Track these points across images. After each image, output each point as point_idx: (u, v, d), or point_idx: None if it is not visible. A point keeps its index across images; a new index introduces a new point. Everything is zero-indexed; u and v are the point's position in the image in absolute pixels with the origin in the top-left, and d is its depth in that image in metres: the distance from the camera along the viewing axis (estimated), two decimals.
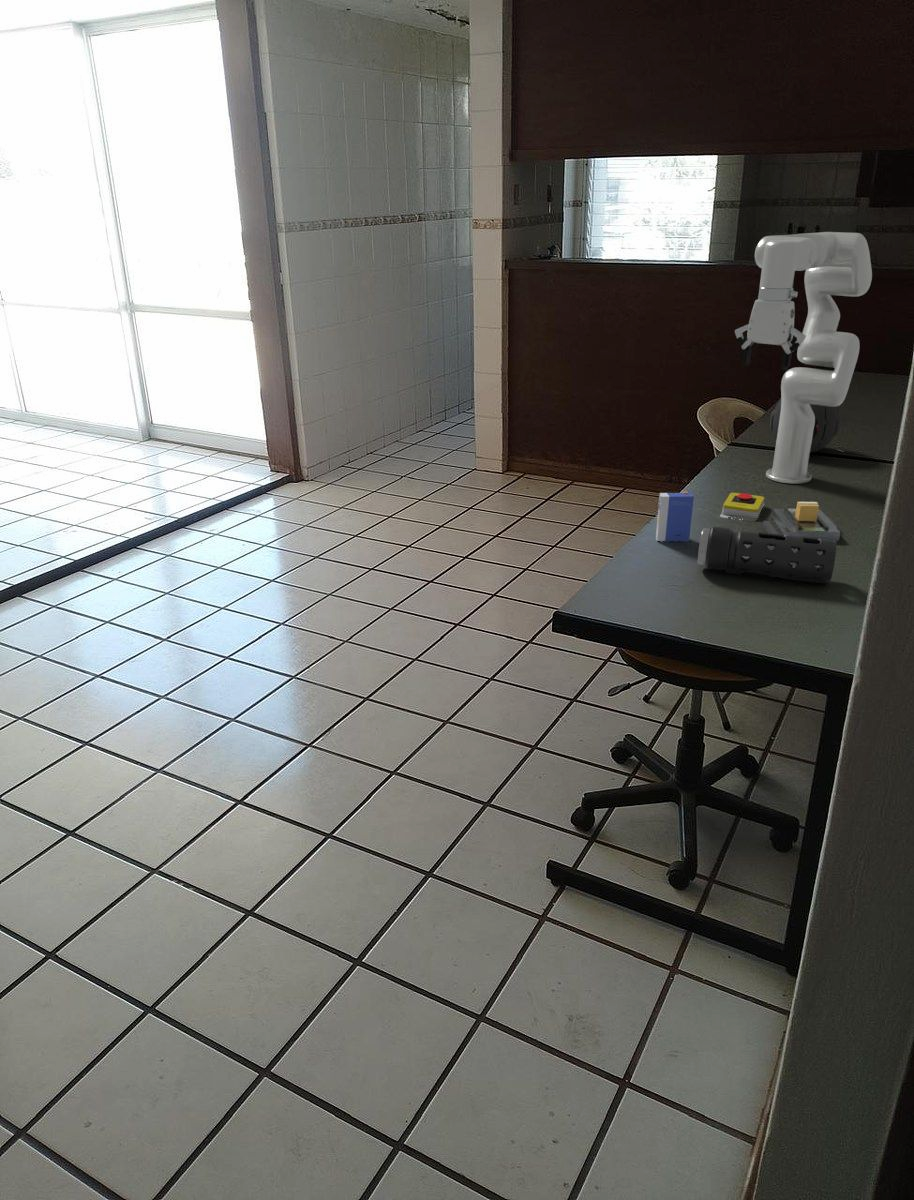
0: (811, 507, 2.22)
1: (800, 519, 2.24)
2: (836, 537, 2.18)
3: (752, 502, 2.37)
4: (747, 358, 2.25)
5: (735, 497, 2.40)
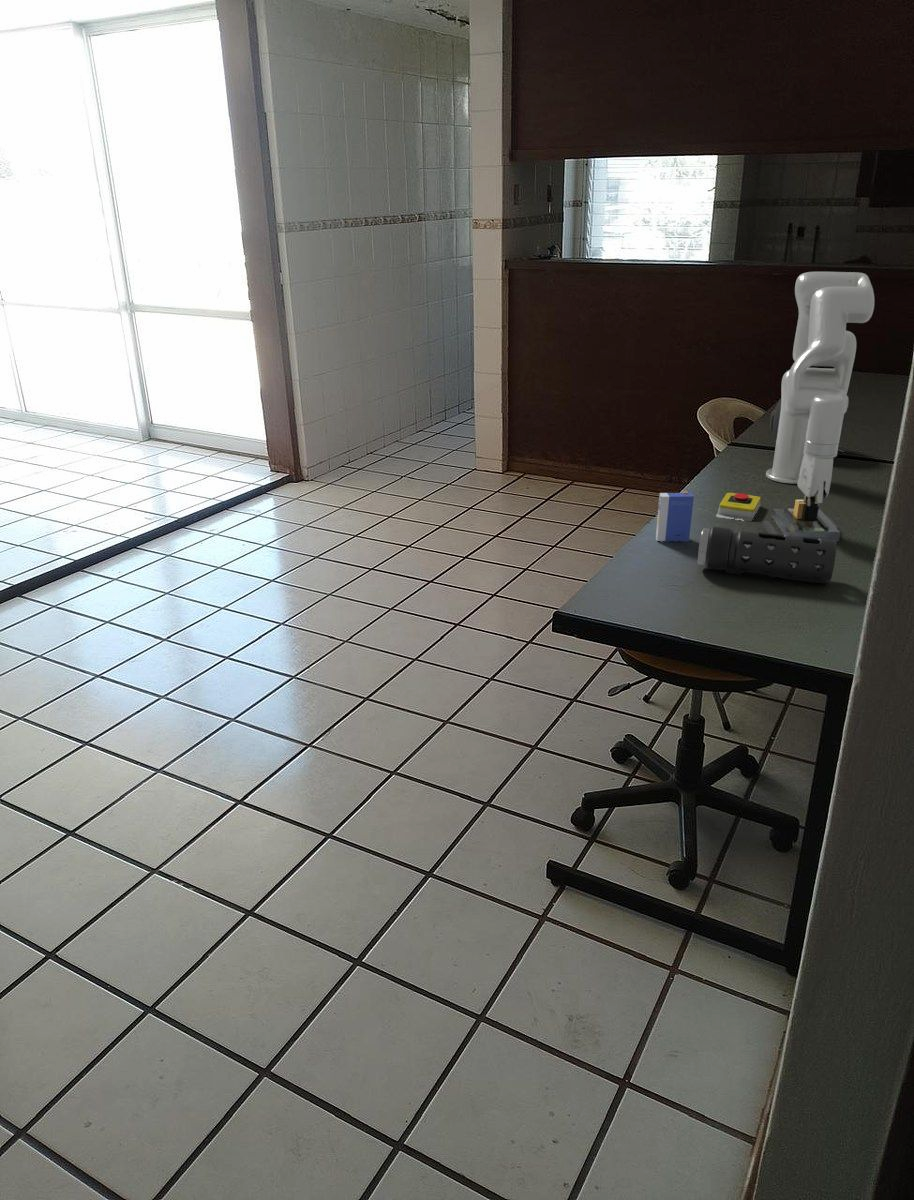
0: None
1: (798, 517, 2.25)
2: (836, 537, 2.18)
3: (748, 502, 2.37)
4: None
5: (731, 497, 2.41)
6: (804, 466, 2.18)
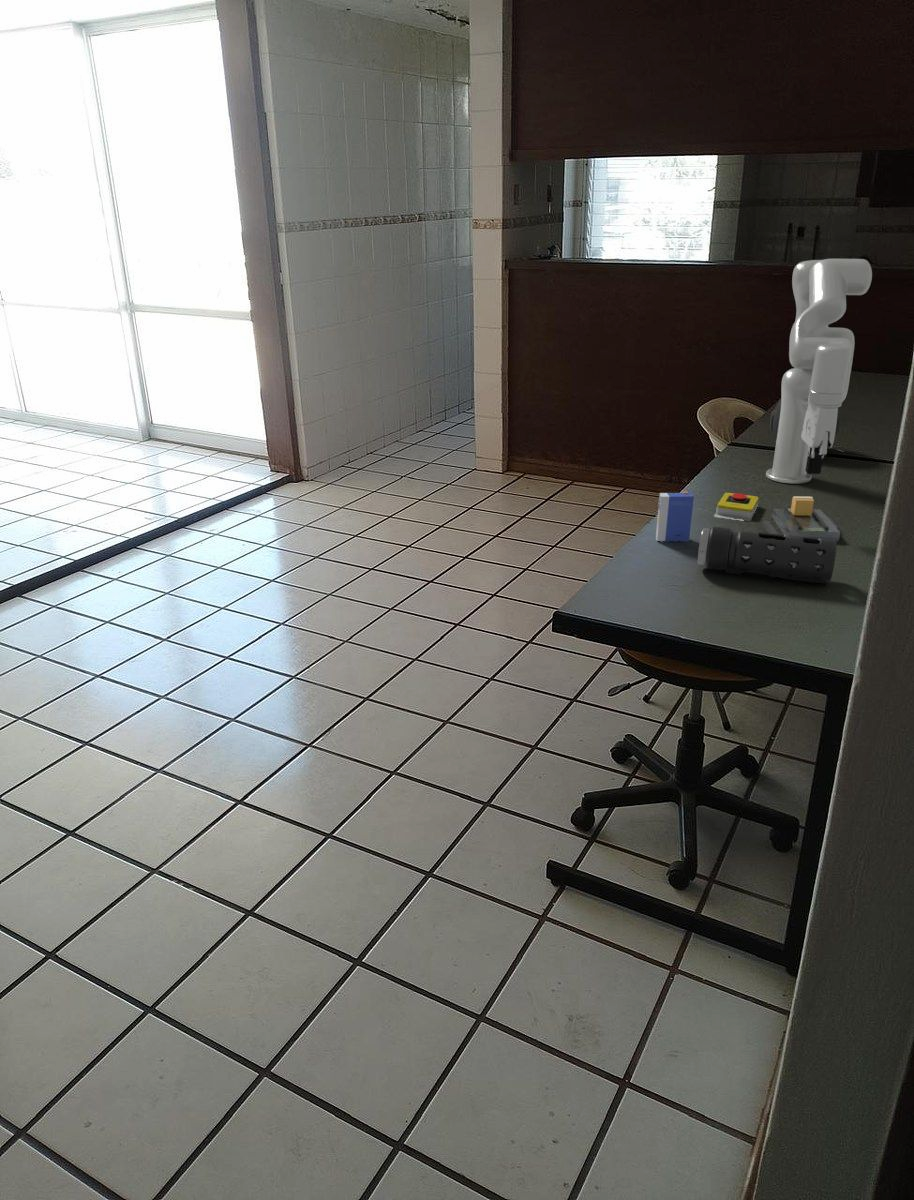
0: (806, 502, 2.26)
1: (795, 513, 2.27)
2: (836, 537, 2.18)
3: (746, 502, 2.37)
4: None
5: (729, 497, 2.41)
6: (808, 417, 2.15)
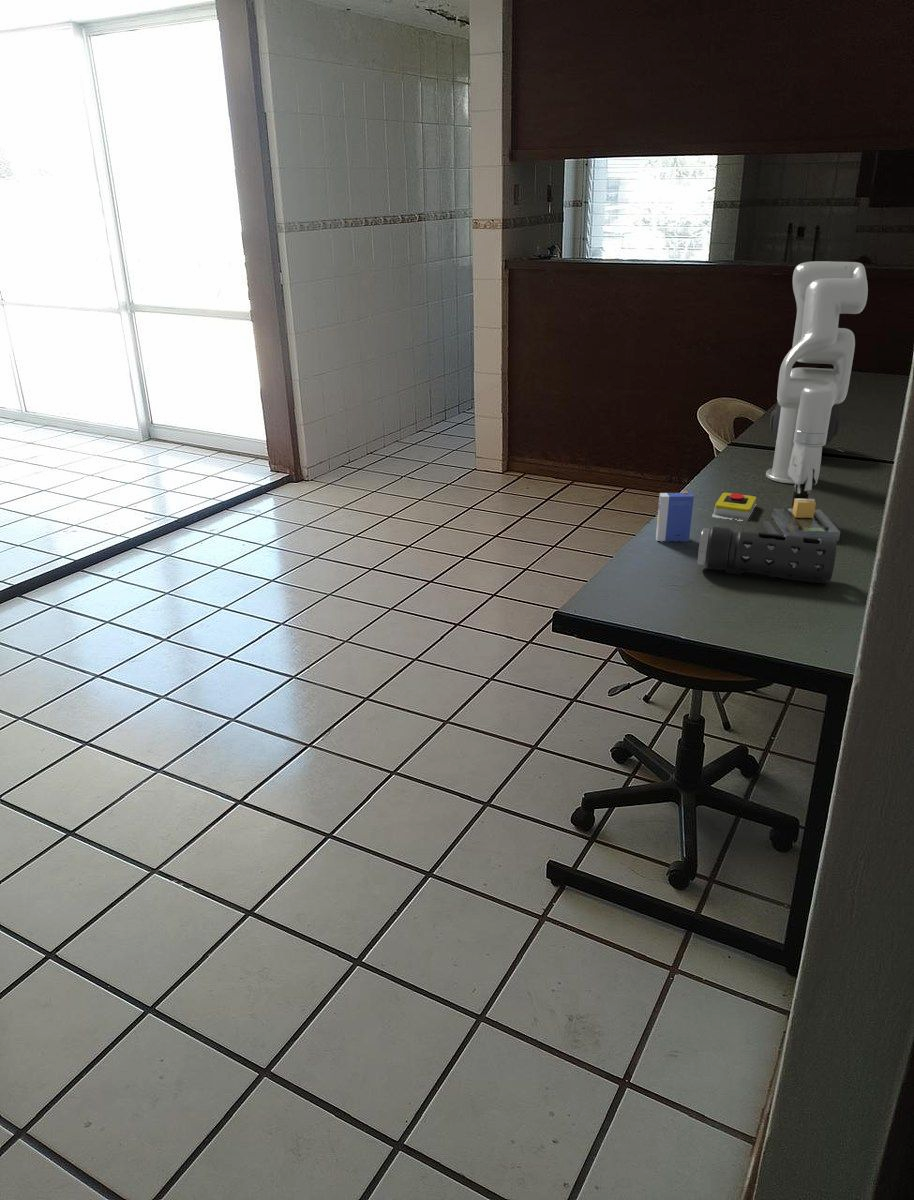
0: (808, 504, 2.24)
1: (797, 516, 2.26)
2: (836, 537, 2.18)
3: (744, 502, 2.37)
4: None
5: (727, 497, 2.41)
6: (794, 455, 2.25)
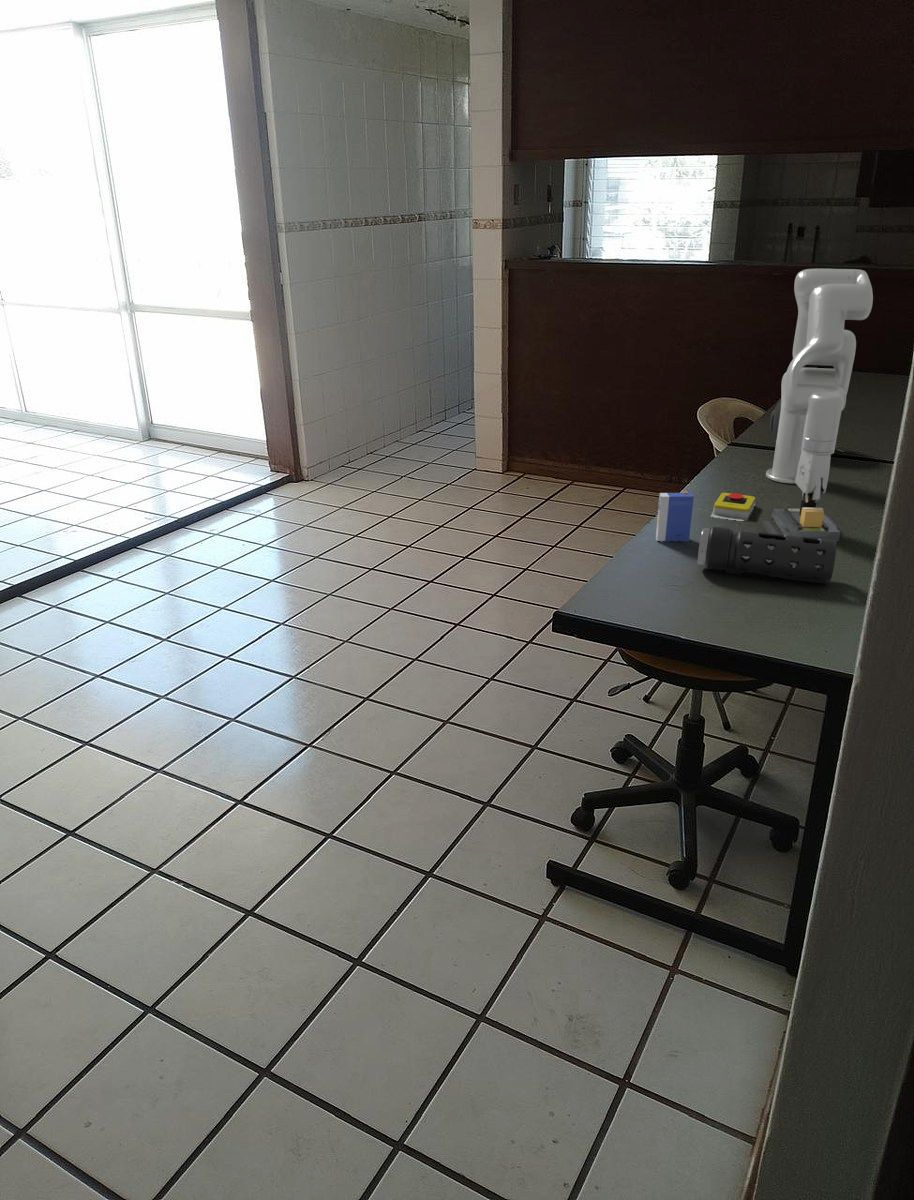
0: (816, 513, 2.18)
1: (805, 525, 2.20)
2: (836, 537, 2.18)
3: (743, 502, 2.37)
4: None
5: (726, 497, 2.41)
6: (802, 463, 2.19)
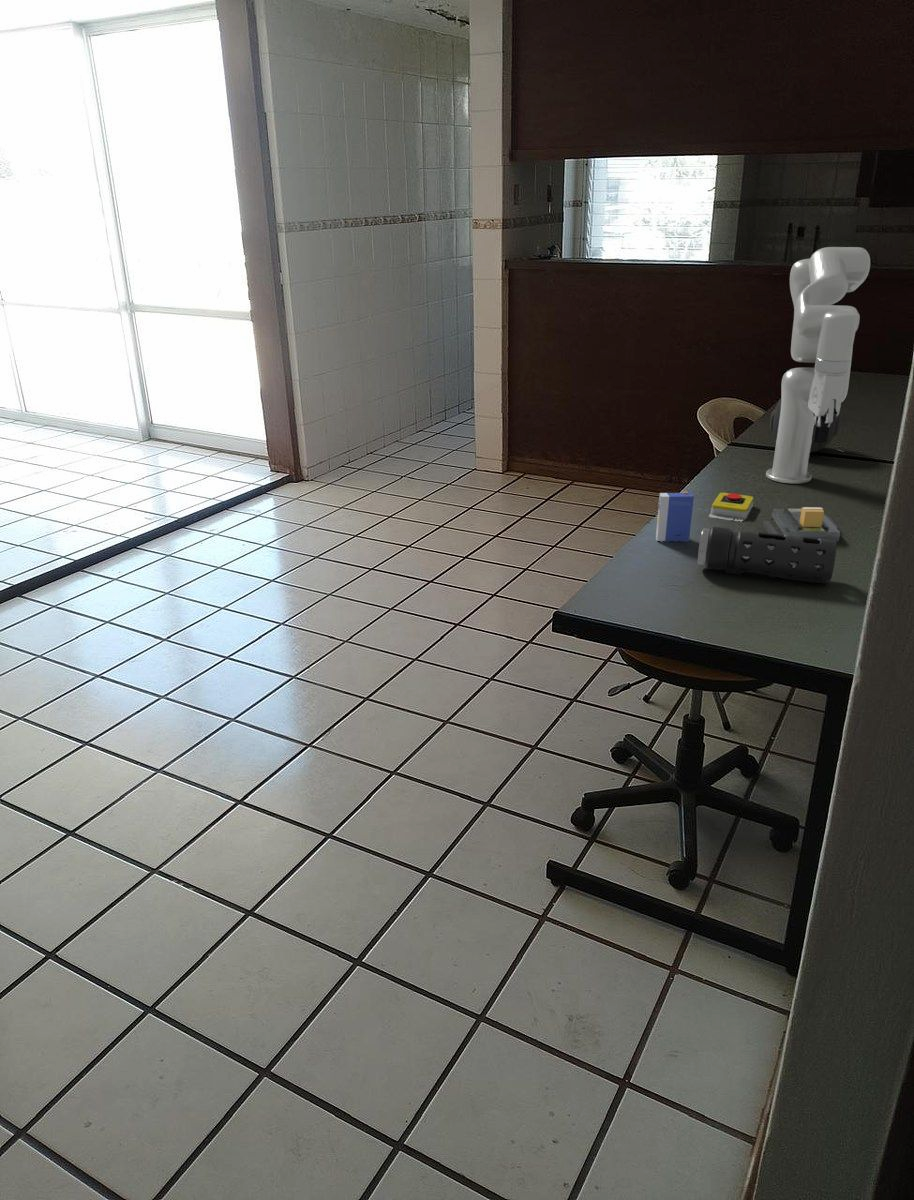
0: (816, 513, 2.18)
1: (805, 525, 2.20)
2: (836, 537, 2.18)
3: (741, 502, 2.37)
4: None
5: (724, 497, 2.41)
6: (815, 385, 2.15)
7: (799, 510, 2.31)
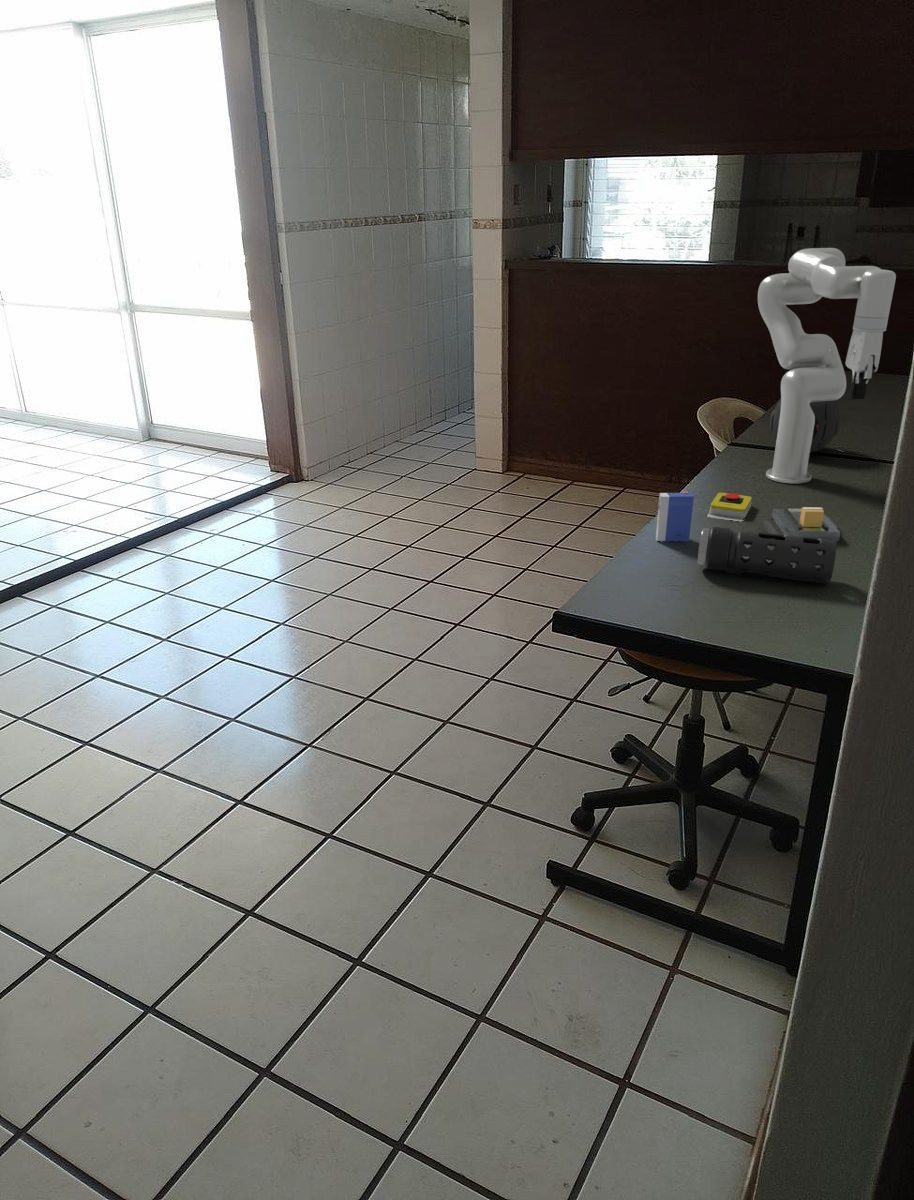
0: (816, 513, 2.18)
1: (805, 525, 2.20)
2: (836, 537, 2.18)
3: (739, 502, 2.37)
4: None
5: (722, 497, 2.41)
6: (853, 343, 2.23)
7: (799, 510, 2.31)
